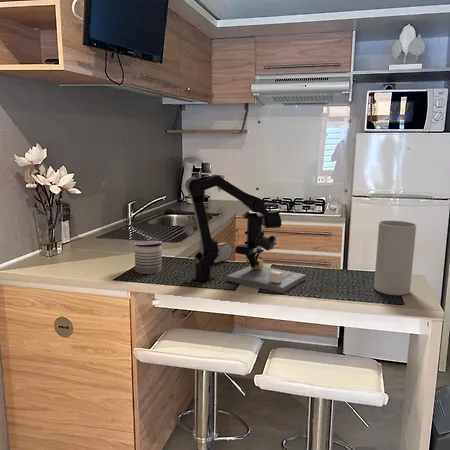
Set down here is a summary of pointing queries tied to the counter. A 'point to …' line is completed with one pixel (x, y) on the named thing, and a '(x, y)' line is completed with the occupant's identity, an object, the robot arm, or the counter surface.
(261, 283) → the fader panel
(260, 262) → the brass fader
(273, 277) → the block
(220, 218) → the counter surface
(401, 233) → the cylinder vase
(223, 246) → the tin
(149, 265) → the can
